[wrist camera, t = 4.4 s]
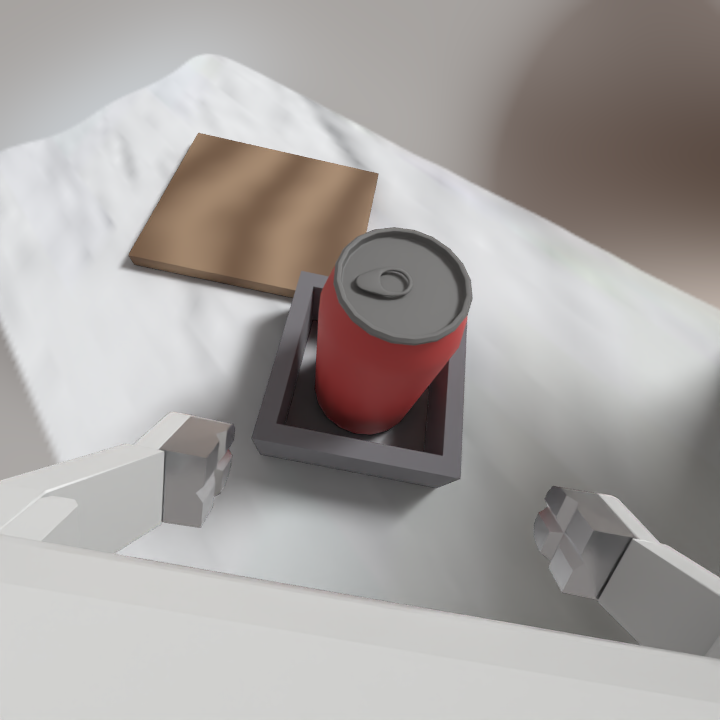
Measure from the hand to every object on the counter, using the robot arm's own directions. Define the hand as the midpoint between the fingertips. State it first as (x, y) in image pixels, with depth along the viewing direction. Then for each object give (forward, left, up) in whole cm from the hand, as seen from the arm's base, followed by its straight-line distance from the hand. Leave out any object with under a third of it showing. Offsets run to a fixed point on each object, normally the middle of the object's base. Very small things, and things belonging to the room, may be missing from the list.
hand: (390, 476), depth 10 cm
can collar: (0, -8, -14) cm, 16 cm away
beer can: (0, -8, -14) cm, 16 cm away
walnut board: (+10, -21, -14) cm, 27 cm away
